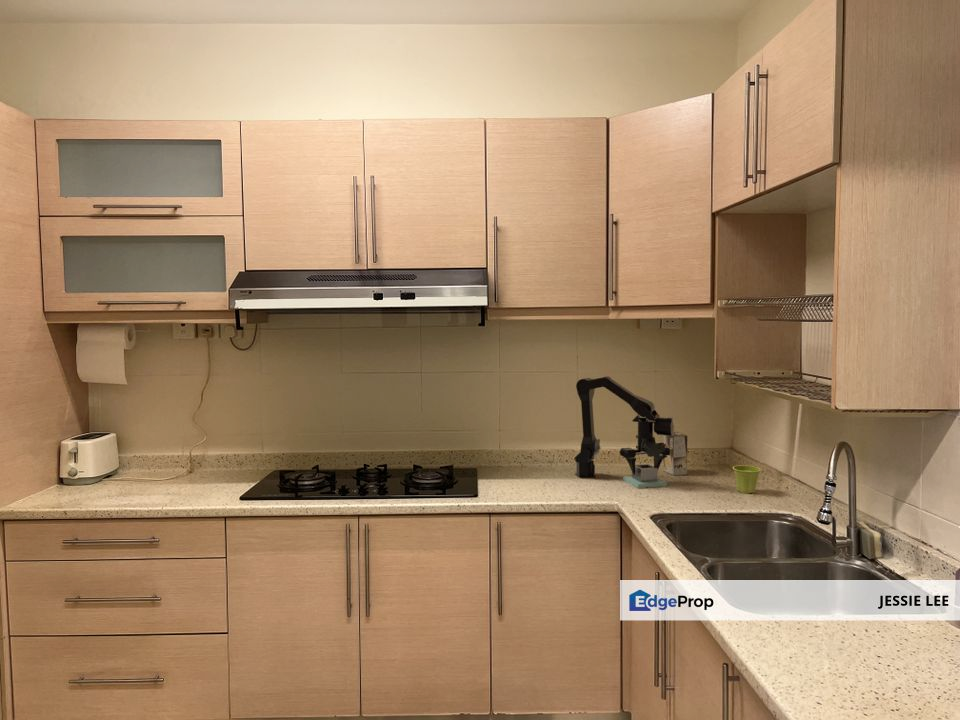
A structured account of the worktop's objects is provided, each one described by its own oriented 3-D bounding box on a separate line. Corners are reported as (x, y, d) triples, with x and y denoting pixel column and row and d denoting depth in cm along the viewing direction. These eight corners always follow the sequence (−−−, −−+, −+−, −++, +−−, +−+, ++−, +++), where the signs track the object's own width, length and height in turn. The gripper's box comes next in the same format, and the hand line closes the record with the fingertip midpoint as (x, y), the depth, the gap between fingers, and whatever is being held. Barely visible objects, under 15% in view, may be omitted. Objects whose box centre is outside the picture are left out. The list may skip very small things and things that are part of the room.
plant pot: (757, 496, 222) (758, 472, 221) (729, 492, 227) (730, 469, 226) (762, 490, 229) (762, 467, 229) (734, 486, 235) (735, 464, 234)
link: (640, 482, 236) (640, 469, 236) (632, 477, 243) (632, 465, 243) (657, 480, 238) (657, 468, 238) (648, 476, 245) (648, 463, 245)
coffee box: (687, 474, 253) (688, 435, 252) (673, 475, 252) (673, 436, 251) (676, 469, 262) (677, 431, 261) (662, 470, 261) (663, 432, 260)
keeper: (637, 488, 234) (638, 473, 233) (623, 480, 245) (623, 466, 245) (666, 486, 236) (667, 471, 236) (651, 478, 248) (651, 464, 248)
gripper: (632, 438, 229) (632, 480, 231) (678, 436, 234) (677, 477, 235) (619, 433, 240) (619, 473, 241) (663, 431, 245) (662, 470, 246)
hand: (644, 473), depth 240 cm, fingers open, 9 cm apart
